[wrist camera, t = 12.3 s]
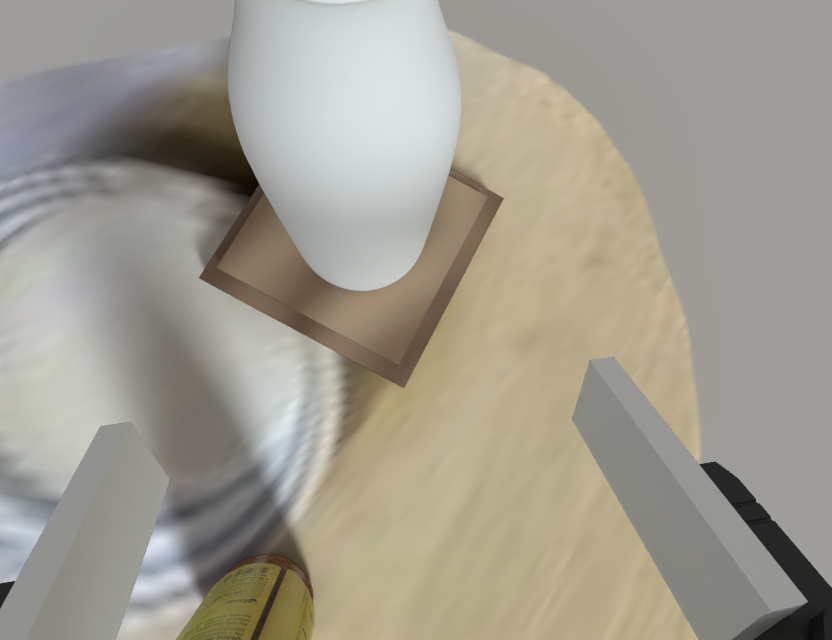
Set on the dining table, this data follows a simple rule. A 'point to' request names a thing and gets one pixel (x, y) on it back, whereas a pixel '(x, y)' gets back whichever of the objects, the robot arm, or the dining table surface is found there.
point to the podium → (348, 309)
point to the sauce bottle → (256, 604)
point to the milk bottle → (347, 126)
